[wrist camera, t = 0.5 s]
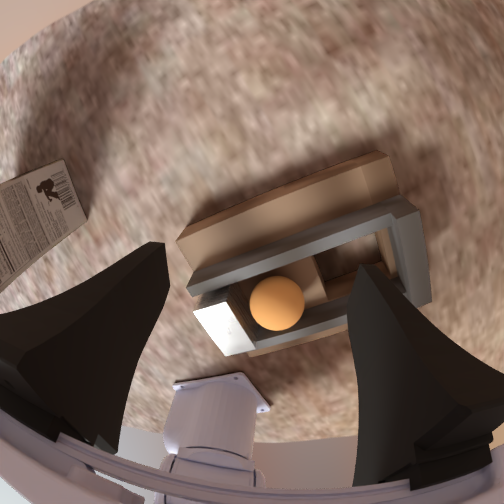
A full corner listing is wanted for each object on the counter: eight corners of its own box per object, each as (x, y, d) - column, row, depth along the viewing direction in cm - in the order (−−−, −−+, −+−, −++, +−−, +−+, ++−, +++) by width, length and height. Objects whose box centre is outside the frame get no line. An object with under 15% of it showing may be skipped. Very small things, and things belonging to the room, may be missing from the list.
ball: (264, 313, 22) (261, 347, 19) (243, 275, 20) (236, 308, 17) (309, 298, 21) (313, 332, 18) (292, 258, 19) (293, 289, 16)
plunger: (231, 328, 22) (225, 356, 20) (203, 285, 21) (193, 311, 18) (259, 320, 22) (256, 349, 19) (232, 275, 20) (225, 301, 17)
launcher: (252, 338, 26) (246, 384, 22) (185, 227, 22) (159, 263, 17) (409, 285, 22) (433, 327, 17) (376, 150, 18) (408, 166, 13)
